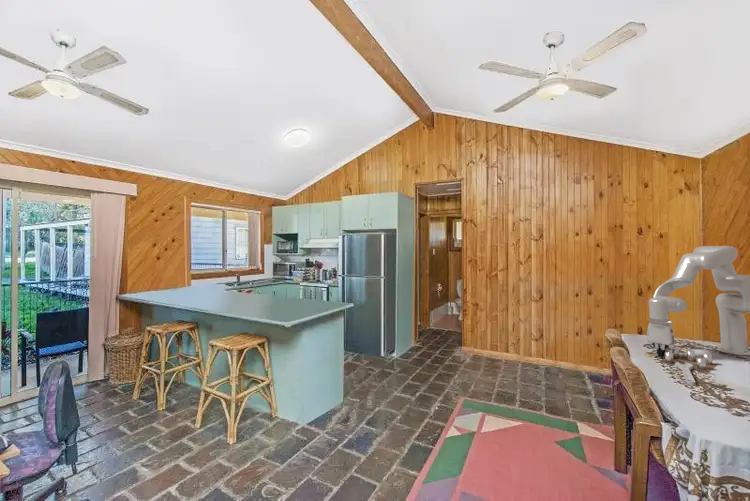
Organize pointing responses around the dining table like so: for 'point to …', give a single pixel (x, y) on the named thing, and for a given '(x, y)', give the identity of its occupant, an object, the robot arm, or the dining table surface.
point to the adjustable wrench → (686, 372)
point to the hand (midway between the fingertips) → (661, 356)
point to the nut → (650, 354)
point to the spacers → (689, 358)
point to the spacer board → (683, 360)
